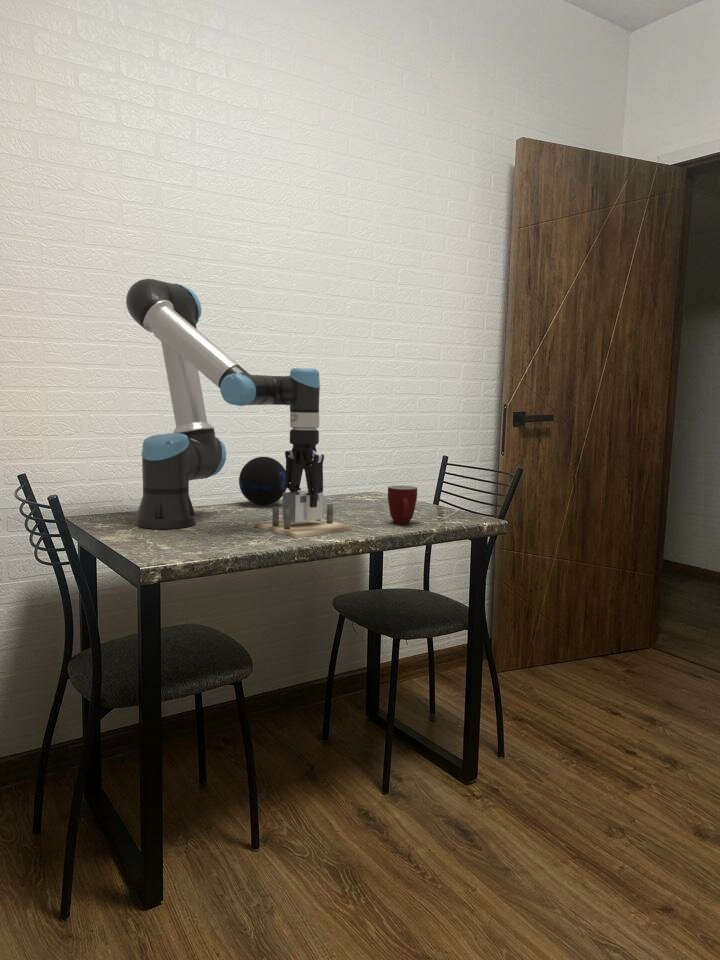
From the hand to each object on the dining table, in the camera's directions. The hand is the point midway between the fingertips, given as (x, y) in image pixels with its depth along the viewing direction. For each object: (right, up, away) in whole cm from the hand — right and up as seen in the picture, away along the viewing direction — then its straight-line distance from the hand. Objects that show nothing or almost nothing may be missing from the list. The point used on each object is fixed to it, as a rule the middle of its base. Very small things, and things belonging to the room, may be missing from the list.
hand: (303, 517), depth 191 cm
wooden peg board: (0, -3, 0) cm, 3 cm away
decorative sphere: (-15, +2, +36) cm, 39 cm away
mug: (+27, -2, +10) cm, 28 cm away
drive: (0, 0, 0) cm, 0 cm away
